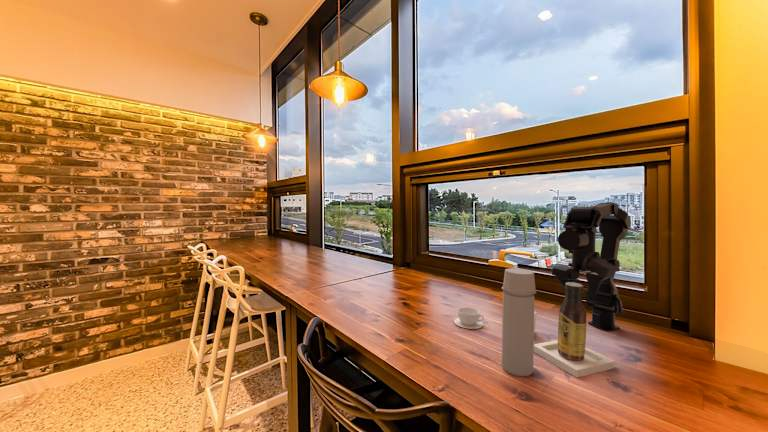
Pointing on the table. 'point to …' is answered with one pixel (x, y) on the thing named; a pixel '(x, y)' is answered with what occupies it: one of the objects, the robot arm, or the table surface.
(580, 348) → the sauce bottle
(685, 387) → the table surface
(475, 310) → the teacup
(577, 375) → the holder tray
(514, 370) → the water bottle
